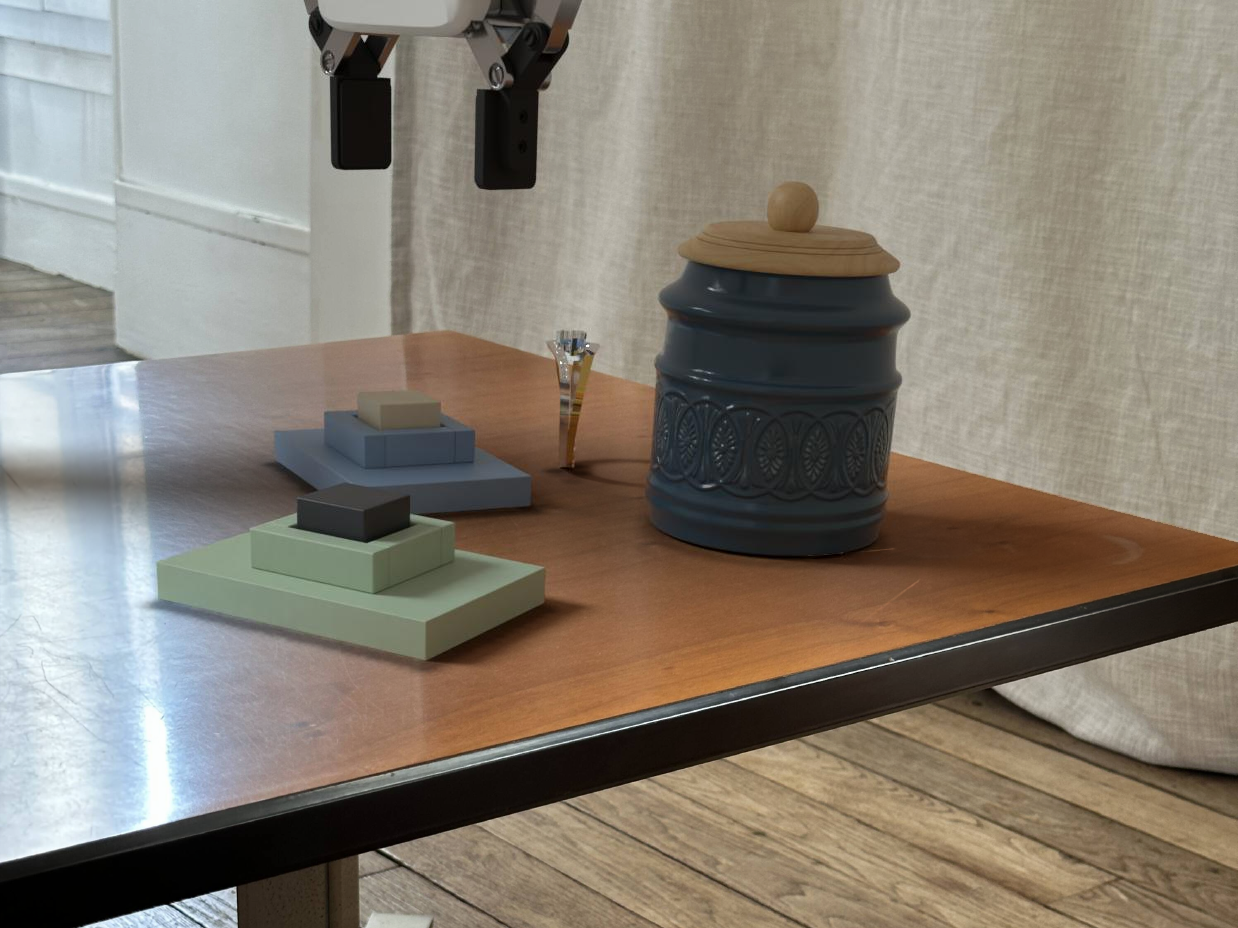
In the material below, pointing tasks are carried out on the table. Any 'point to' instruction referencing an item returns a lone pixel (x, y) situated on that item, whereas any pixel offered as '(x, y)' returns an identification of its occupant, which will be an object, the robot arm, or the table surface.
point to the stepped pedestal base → (356, 585)
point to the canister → (776, 386)
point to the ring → (571, 386)
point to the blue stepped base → (405, 463)
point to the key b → (398, 409)
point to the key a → (353, 512)
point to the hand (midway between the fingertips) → (430, 178)
